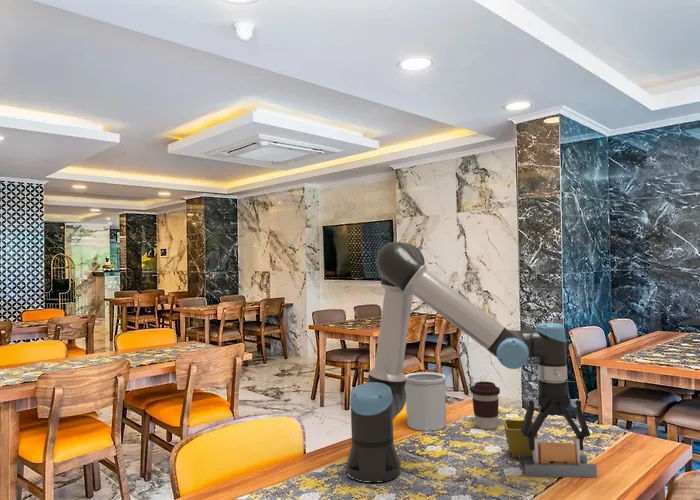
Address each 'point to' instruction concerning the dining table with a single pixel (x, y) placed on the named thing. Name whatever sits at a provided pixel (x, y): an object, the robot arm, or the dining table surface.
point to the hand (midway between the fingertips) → (556, 461)
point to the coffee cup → (485, 404)
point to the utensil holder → (426, 401)
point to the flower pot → (517, 437)
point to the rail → (556, 468)
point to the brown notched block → (556, 452)
